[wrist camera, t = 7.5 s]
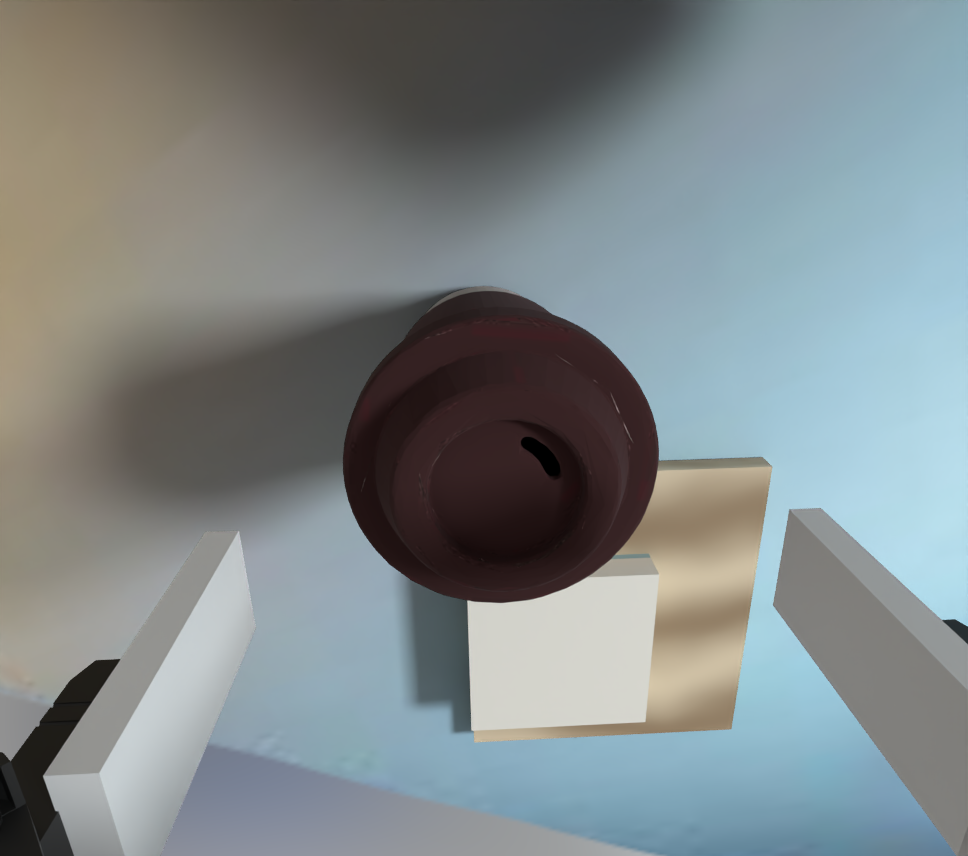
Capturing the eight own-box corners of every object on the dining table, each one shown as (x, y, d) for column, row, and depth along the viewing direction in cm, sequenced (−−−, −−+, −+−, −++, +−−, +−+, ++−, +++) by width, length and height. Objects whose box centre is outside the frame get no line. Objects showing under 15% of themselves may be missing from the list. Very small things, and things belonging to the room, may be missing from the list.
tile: (648, 553, 37) (465, 560, 36) (659, 574, 35) (466, 582, 34) (636, 696, 40) (470, 704, 40) (645, 722, 38) (471, 730, 38)
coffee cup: (399, 459, 35) (366, 654, 21) (366, 269, 31) (300, 352, 17) (586, 436, 35) (677, 616, 21) (575, 243, 31) (675, 307, 18)
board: (465, 467, 35) (466, 477, 34) (762, 457, 36) (772, 466, 35) (473, 726, 42) (474, 742, 41) (723, 714, 43) (731, 729, 42)
